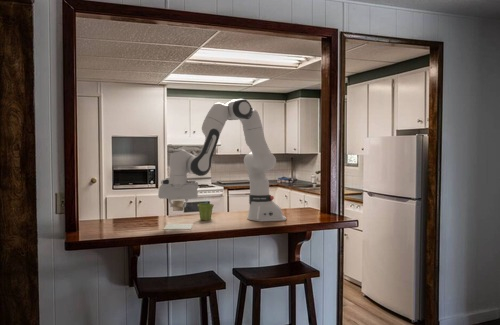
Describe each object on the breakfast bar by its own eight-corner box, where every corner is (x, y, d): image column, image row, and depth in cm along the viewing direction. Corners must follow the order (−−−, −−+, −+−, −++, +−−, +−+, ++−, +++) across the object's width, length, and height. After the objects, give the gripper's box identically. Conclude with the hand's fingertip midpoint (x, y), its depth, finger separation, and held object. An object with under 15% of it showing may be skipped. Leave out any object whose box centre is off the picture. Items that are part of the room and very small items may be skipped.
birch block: (183, 209, 224) (183, 200, 224) (182, 210, 219) (182, 201, 219) (174, 209, 224) (174, 200, 224) (172, 210, 219) (172, 201, 219)
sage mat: (193, 224, 230) (193, 223, 230) (190, 229, 216) (190, 228, 216) (167, 224, 229) (167, 224, 229) (163, 229, 215) (163, 229, 215)
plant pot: (211, 218, 250) (211, 203, 249) (215, 220, 241) (215, 205, 241) (196, 219, 247) (195, 204, 246) (199, 221, 238) (199, 206, 238)
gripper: (198, 180, 225) (198, 206, 225) (159, 180, 224) (159, 206, 224) (197, 181, 219) (197, 207, 219) (157, 181, 218) (157, 207, 218)
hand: (178, 207), depth 222 cm, fingers closed on birch block, 5 cm apart
